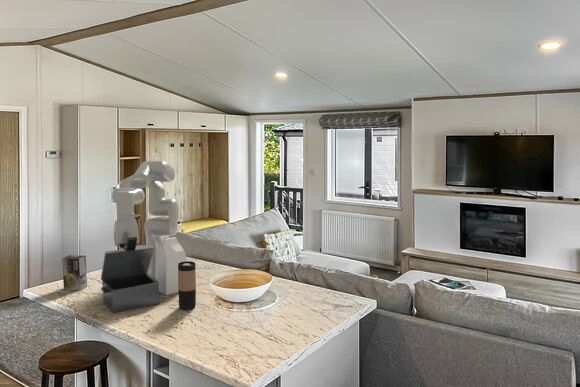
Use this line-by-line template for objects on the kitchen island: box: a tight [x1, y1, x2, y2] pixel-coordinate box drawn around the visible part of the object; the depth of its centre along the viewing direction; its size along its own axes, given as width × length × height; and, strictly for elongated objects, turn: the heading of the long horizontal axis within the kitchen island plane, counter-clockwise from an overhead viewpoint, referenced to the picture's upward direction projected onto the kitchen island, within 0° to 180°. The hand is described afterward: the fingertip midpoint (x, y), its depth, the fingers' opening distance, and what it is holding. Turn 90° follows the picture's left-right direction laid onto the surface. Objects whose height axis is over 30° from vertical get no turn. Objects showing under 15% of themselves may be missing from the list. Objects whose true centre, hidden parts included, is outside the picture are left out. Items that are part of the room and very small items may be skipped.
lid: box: [100, 237, 154, 281], centre depth 204 cm, size 21×25×2 cm
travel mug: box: [177, 260, 197, 311], centre depth 198 cm, size 8×8×20 cm
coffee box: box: [61, 254, 88, 291], centre depth 223 cm, size 9×6×16 cm
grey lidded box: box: [100, 273, 160, 314], centre depth 204 cm, size 24×18×10 cm
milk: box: [154, 236, 187, 296], centre depth 222 cm, size 12×12×26 cm
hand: (127, 256), depth 206 cm, fingers closed
